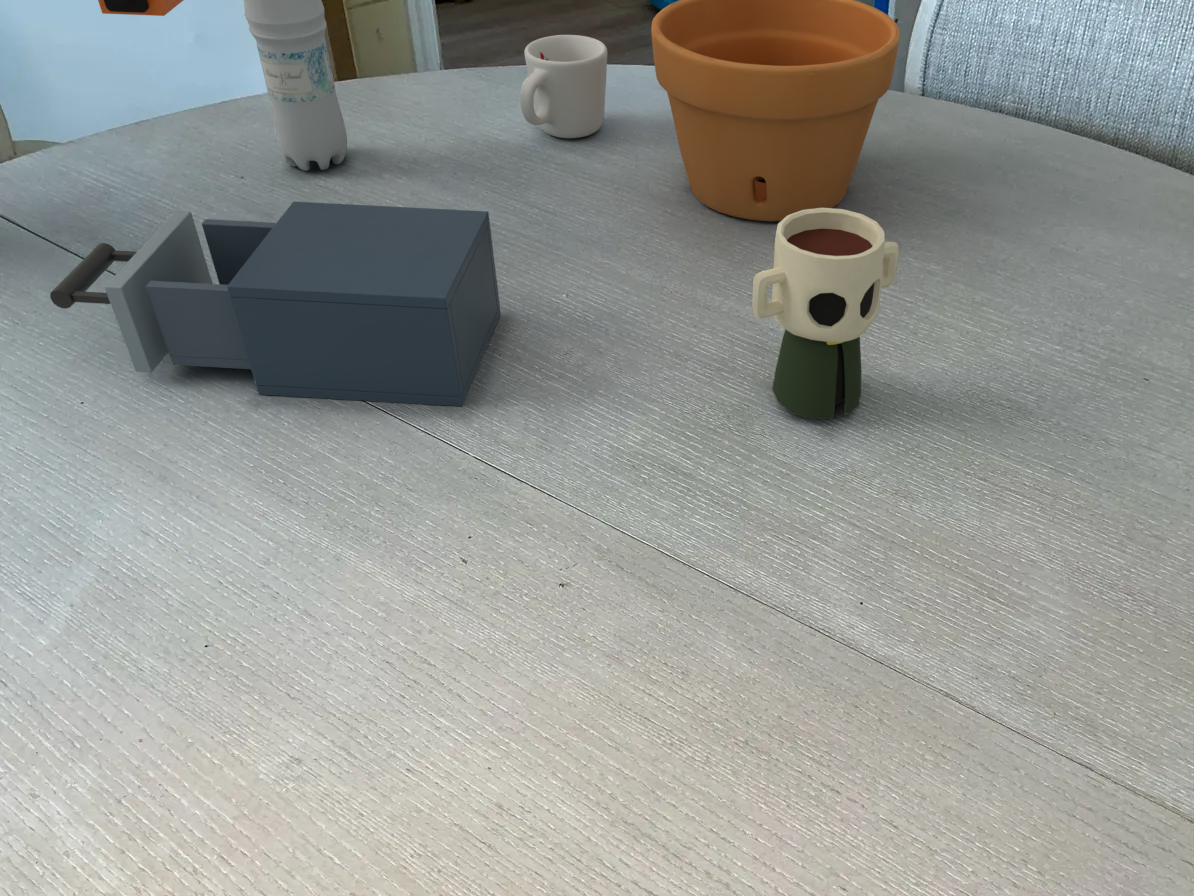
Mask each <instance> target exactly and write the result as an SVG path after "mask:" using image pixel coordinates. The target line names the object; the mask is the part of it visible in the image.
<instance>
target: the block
mask: <svg viewBox="0 0 1194 896" xmlns="http://www.w3.org/2000/svg"><path fill="white" fill-rule="evenodd" d="M97 1H98V4H99V8H100V11H101V13H102V14H105V15H130V16H153V17H154V16H155V17H156V16H158V17H164V16H166V15H167V14H168V13H170V12H171V11H172V10H174V9H175V8H176V7H177V6H178V5H179V4H181V3H182V2H184V0H147V1H148V5H149V9H148V10H147V11H146V12H144V13H138V12H112V11H109V10H108V9H107V8H106V6H105V3H104V0H97Z"/></svg>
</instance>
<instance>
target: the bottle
mask: <svg viewBox="0 0 1194 896" xmlns="http://www.w3.org/2000/svg"><path fill="white" fill-rule="evenodd" d="M243 8H244V17H245V19H246V21H247V23H248V31H249V33H250V34H251V36H252V37H253V38H254V40H255V43H256V48H257V52H258V56H259V60H260V65H261V70H262V74H263V78H264V81H265V86H266V90H267V94H268V97H269V102H270V109H271V115H272V121H273V127H274V131H275V132H274V133H275V138H276V141H277V146H278V148H279V151H280V154H281V155H282V157H283V159H284V161H285V162H286V163H287V164H288V165H289V166H292V167H298V169H300V170H301V171H310V169H311V163H310V162H312V161H314V162H316V163H317V164H318V167H319V169H320V170H322V171H325V170H328V169H329V167H330V162H331V160H332V163H333V164H335V165H340V164H341V163H343V161H344V160H345V157H346V152H347V147H348V135H347V129H346V124H345V120H344V117H343V114H342V109H341V106H340V101H339V100H338V95H337V91H336V85H335V80H334V75H333V69H332V64H331V59H330V54H329V50H328V49H329V48H328V44H327V39H326V34H325V33H326V29H327V21H326V19H325V7H324V4H323V1H322V0H243Z"/></svg>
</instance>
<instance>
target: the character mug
mask: <svg viewBox="0 0 1194 896" xmlns="http://www.w3.org/2000/svg"><path fill="white" fill-rule="evenodd" d="M773 249H774V251H773V268H770V269H765V270H762V271H759V272H758V273H756V274H755V275H754V278H753V281H752V282H753V283H752V302H751V303H752V304H751V308H752V309H751V310H752V314H753V317H754V318H757V319H767V318H771V317H773V318H774V319H775V321H776V322H777V323H778V324H779V326H780V327H781V328H783V329H784V333H783V335H782V339H781V344H780V348H779V353H778V358H777V362H776V366H775V370H774V371H775V372H774V377H773V383H772V389H771V390H772V392H773V394H774V396H775V399H776V400H777V402H778V403H779V404H781V406H783V407H784V408H785V409H786V410H787V411H788V412H789V413H790V414H793V415H796V416H799V417H803V418H806V419H809V420H810V419H811V420H830V419H833V418H834V417H835V406H836V405H839V404H840V403H841V402H843V401H844V415H847V414H850V413H851V412H852V411H853V410H854V409H855V408H857V407H858V406H859V404H860V399H861V396H862V394H861V393H862V353H861V336H862V335H864V333H866V332H867V330H868V329H869V328H870V327H871V326H872V324H873V323H874V322H875V321H876V318H877V316H878V312H879V309H880V305H881V294H882V289H886V288H889V287H890V286H892V285H894V283H895V281H896V277H897V269H898V262H899V253H900V250H899V246H898V242H897V241H886V240H885V231H884V229H883V228H882V227H881V225H880V224H879V223H878V221H876V220H874V219H872V218H870V217H869V216H866V215H865V214H863V213H859V212H855V211H851V210H848V209H843V208H834V207H833V208H816V209H806V210H801V211H798V212H796V213H793V214H790V215H787V216H786V217H785V218H784V219H783V220H782V221H778V223H777V227H776V232H775V238H774V248H773ZM769 286H772V287H771V288H772V289H771V301H768V292H769V291H768V289H769Z"/></svg>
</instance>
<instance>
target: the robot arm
mask: <svg viewBox="0 0 1194 896" xmlns="http://www.w3.org/2000/svg"><path fill="white" fill-rule="evenodd" d="M104 3H105V6H106V8H107V9H108V10H109V11H112V12H138V13H144V12H146V11H147V10H148V9H149V5H148V1H147V0H104Z"/></svg>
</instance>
